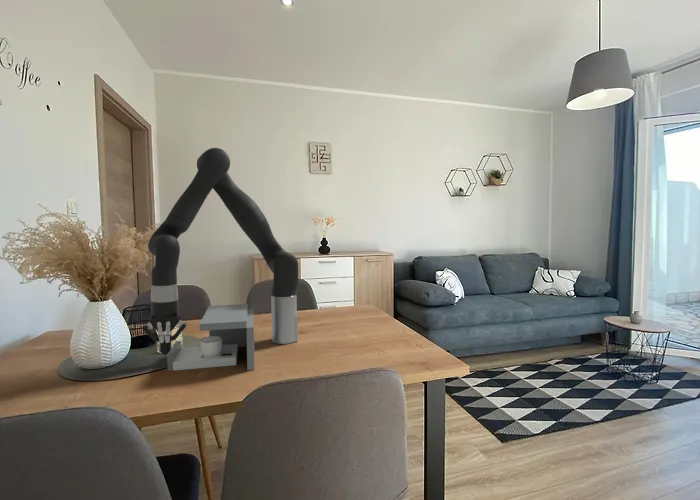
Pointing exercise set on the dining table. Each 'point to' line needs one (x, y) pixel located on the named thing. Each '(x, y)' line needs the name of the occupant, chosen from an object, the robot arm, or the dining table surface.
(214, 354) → the shot glass
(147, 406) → the dining table surface
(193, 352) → the grey flat bracket
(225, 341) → the grey shelf
